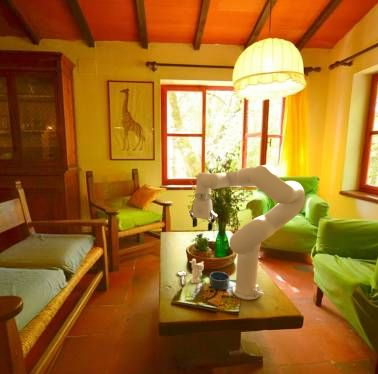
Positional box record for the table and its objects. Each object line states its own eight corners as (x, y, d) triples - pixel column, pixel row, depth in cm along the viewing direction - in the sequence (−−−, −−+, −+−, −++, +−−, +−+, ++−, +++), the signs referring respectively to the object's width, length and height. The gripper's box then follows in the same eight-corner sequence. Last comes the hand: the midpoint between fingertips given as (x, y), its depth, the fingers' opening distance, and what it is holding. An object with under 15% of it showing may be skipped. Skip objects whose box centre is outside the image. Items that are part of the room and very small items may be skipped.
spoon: (187, 285, 126) (187, 283, 126) (179, 285, 125) (179, 284, 125) (185, 272, 139) (185, 271, 139) (177, 272, 139) (177, 271, 139)
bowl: (232, 285, 127) (233, 275, 126) (222, 293, 120) (222, 283, 119) (216, 278, 133) (216, 269, 133) (205, 285, 126) (205, 276, 125)
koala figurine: (191, 285, 126) (191, 262, 124) (185, 279, 132) (186, 257, 130) (206, 282, 129) (207, 260, 127) (200, 276, 135) (201, 255, 133)
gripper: (185, 195, 133) (185, 226, 136) (213, 199, 123) (212, 233, 125) (194, 193, 139) (193, 223, 142) (221, 197, 129) (220, 230, 131)
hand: (202, 228), depth 133 cm, fingers open, 9 cm apart
